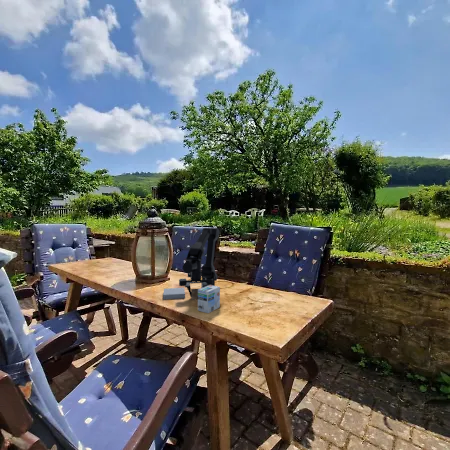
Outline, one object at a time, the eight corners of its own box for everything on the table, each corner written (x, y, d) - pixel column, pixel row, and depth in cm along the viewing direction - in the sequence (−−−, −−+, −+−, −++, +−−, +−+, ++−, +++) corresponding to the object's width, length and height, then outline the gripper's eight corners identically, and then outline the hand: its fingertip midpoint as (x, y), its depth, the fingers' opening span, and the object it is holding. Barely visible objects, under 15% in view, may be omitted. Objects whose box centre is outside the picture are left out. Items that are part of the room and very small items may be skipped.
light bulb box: (208, 313, 125) (208, 291, 125) (197, 310, 129) (197, 289, 128) (220, 307, 134) (220, 286, 134) (209, 304, 138) (209, 284, 137)
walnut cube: (199, 297, 150) (199, 288, 150) (200, 299, 145) (200, 291, 145) (191, 297, 149) (191, 288, 149) (191, 300, 144) (191, 291, 144)
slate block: (184, 292, 160) (184, 287, 159) (185, 298, 148) (185, 293, 148) (163, 293, 157) (163, 288, 157) (163, 300, 145) (163, 294, 145)
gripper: (210, 265, 156) (210, 291, 157) (178, 267, 152) (178, 293, 153) (213, 270, 145) (213, 297, 146) (179, 271, 141) (179, 299, 142)
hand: (195, 296), depth 147 cm, fingers open, 5 cm apart
